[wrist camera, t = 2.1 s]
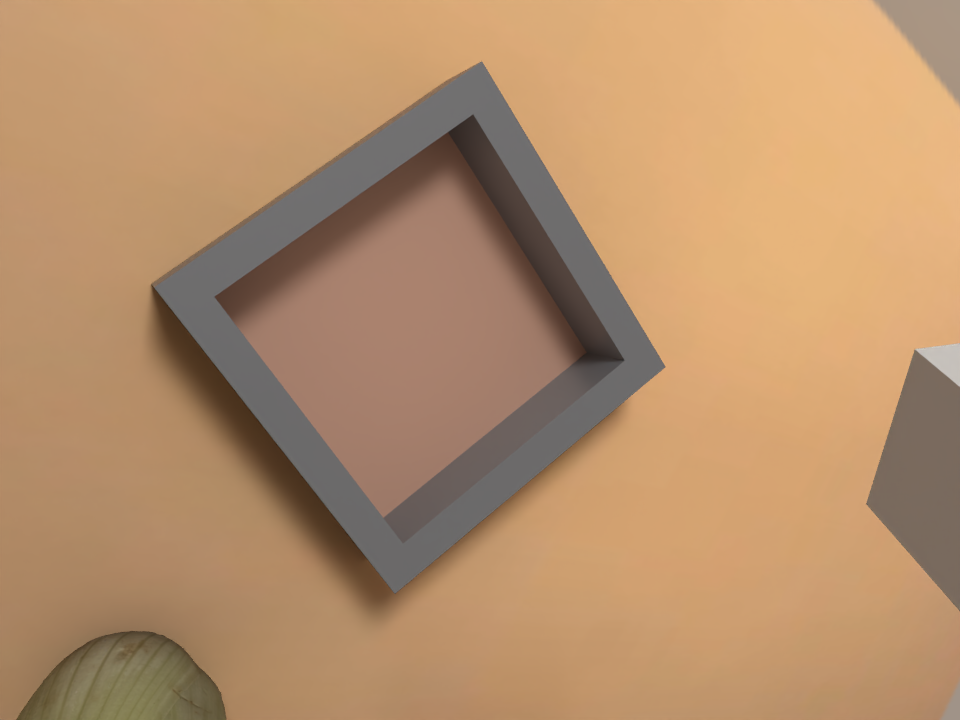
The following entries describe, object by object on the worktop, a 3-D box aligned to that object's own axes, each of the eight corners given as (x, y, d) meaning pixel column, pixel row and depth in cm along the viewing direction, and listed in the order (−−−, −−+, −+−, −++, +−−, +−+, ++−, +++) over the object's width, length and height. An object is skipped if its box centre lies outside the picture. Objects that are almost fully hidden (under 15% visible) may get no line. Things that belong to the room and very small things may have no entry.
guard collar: (368, 560, 33) (394, 593, 30) (151, 283, 30) (154, 287, 26) (617, 356, 36) (665, 366, 33) (446, 80, 32) (481, 61, 29)
